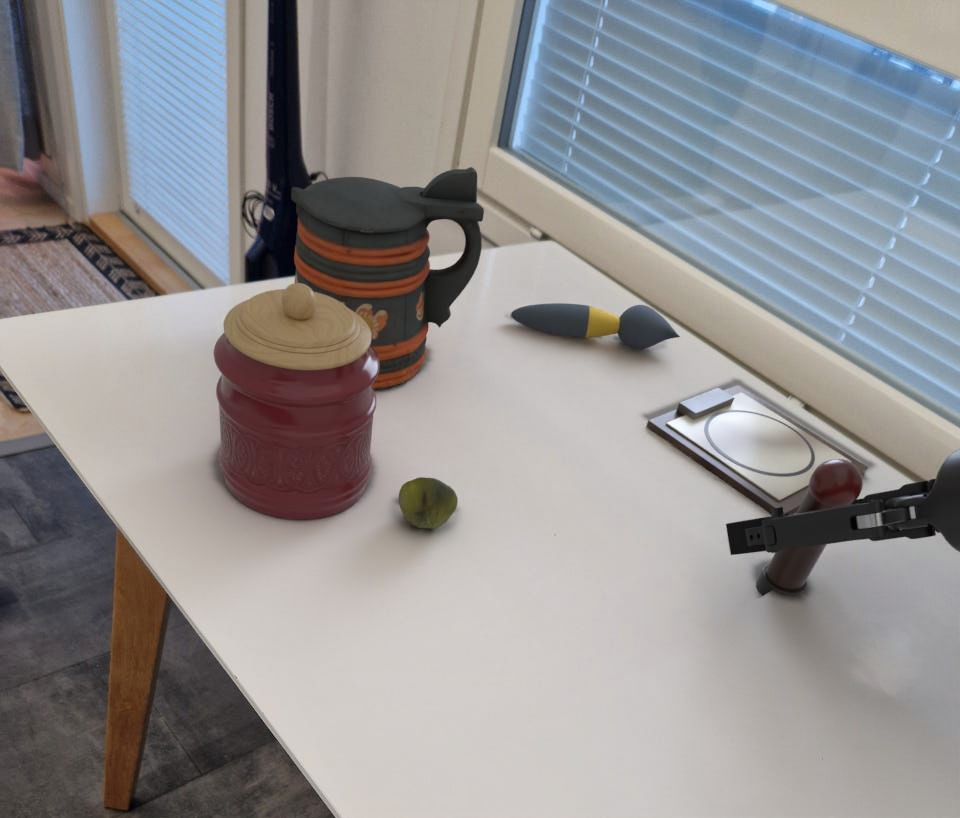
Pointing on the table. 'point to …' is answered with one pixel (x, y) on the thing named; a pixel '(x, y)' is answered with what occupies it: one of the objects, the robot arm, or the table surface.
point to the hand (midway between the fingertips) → (775, 530)
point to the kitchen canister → (295, 403)
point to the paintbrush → (598, 323)
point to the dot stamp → (826, 490)
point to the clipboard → (748, 445)
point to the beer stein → (387, 257)
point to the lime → (427, 502)
